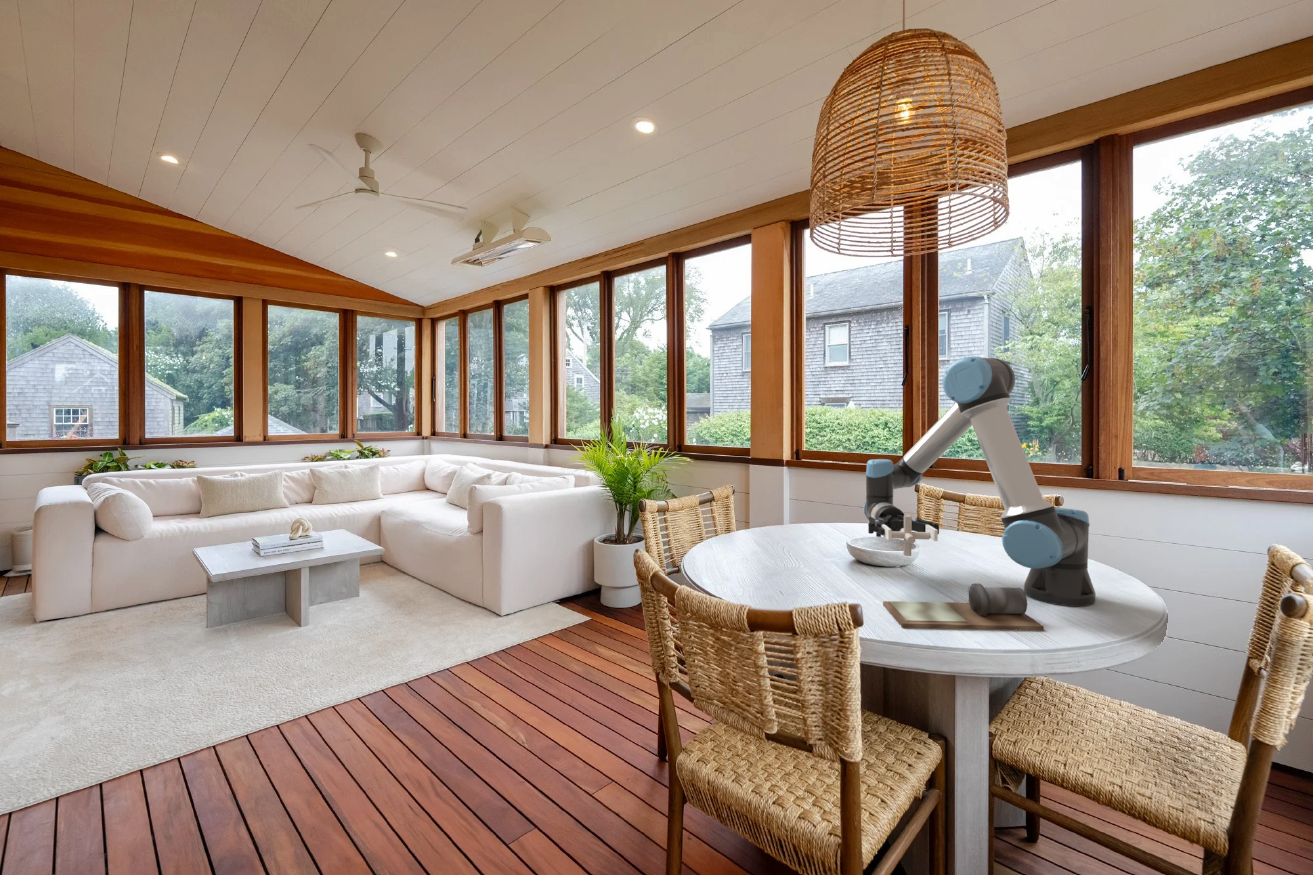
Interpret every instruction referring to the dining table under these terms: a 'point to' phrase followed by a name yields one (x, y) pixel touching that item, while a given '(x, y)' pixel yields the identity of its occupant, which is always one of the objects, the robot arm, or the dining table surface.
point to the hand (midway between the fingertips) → (912, 535)
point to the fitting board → (969, 611)
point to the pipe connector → (909, 535)
